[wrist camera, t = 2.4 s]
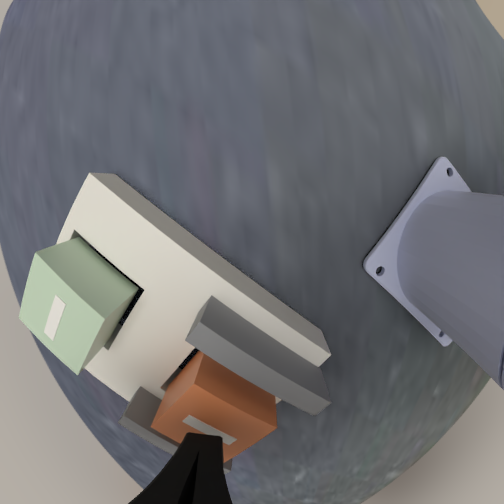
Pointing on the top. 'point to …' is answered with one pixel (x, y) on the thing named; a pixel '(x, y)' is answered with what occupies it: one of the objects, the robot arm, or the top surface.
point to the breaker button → (215, 406)
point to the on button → (74, 301)
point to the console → (188, 312)
